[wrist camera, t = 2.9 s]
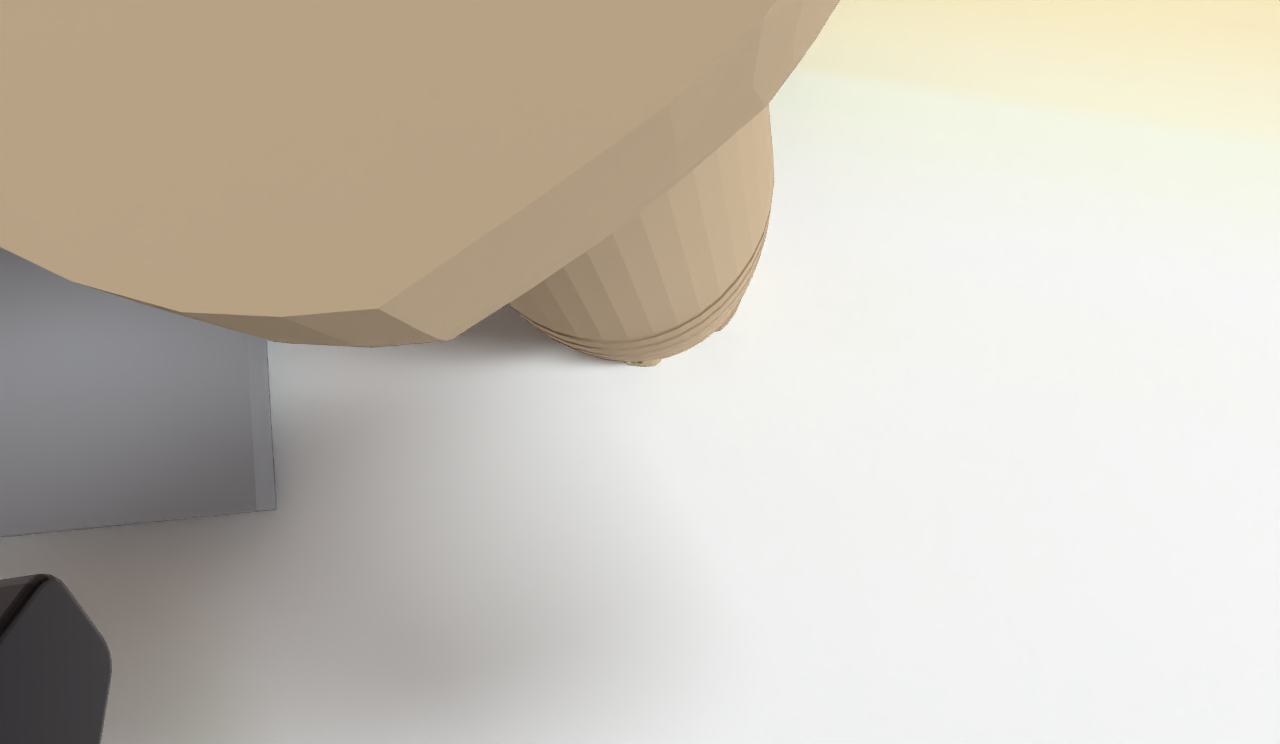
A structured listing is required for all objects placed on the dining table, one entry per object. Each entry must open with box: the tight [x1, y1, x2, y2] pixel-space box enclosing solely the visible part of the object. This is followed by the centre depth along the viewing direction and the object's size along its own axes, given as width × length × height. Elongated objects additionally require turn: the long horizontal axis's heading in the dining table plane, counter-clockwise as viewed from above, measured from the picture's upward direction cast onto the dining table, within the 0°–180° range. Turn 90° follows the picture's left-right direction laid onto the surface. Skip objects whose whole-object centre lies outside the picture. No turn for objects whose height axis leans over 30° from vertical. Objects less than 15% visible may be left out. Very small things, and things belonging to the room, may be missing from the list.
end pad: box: [0, 247, 276, 537], centre depth 20 cm, size 7×8×1 cm
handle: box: [0, 0, 840, 367], centre depth 12 cm, size 5×6×15 cm
